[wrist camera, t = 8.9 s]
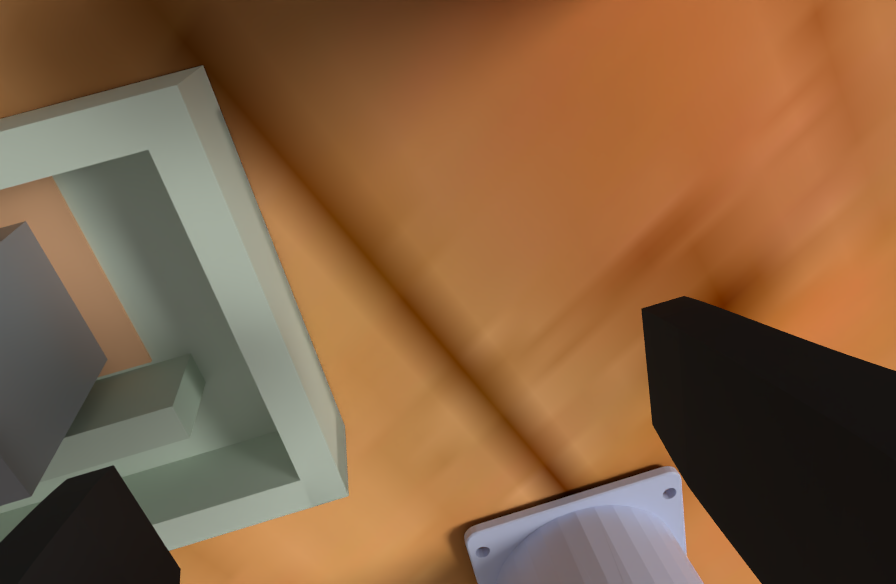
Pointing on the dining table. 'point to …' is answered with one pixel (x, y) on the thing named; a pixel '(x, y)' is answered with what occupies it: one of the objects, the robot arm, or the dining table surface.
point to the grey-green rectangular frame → (173, 312)
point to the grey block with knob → (37, 362)
